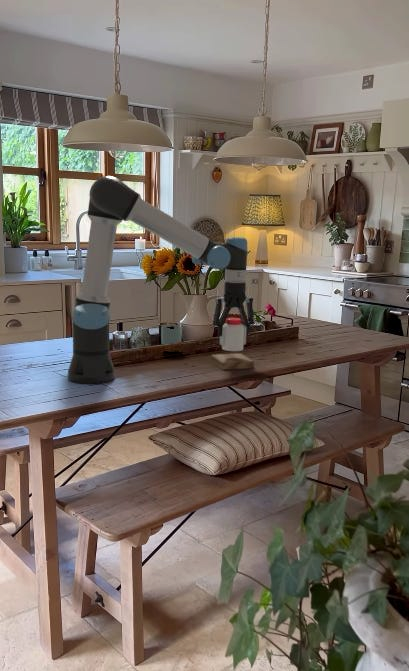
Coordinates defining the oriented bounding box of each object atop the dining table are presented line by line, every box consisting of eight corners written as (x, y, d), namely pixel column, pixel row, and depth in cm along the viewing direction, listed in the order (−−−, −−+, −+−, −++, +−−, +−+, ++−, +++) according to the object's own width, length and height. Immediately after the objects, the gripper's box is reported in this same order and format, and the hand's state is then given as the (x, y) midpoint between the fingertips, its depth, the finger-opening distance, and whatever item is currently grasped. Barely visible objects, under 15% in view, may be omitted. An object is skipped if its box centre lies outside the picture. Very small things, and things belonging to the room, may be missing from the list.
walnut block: (222, 371, 215) (222, 363, 214) (210, 362, 226) (211, 354, 226) (253, 369, 219) (253, 361, 218) (240, 361, 230) (240, 353, 229)
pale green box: (178, 354, 235) (178, 329, 233) (158, 353, 236) (159, 327, 234) (182, 350, 242) (183, 325, 240) (164, 348, 244) (164, 324, 242)
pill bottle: (238, 345, 226) (239, 316, 224) (246, 350, 219) (247, 320, 217) (218, 346, 224) (220, 317, 221) (226, 351, 216) (227, 321, 214)
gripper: (211, 283, 209) (209, 347, 214) (266, 282, 216) (262, 345, 221) (204, 280, 216) (202, 343, 221) (257, 279, 223) (254, 340, 228)
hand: (232, 344), depth 221 cm, fingers closed on pill bottle, 8 cm apart
